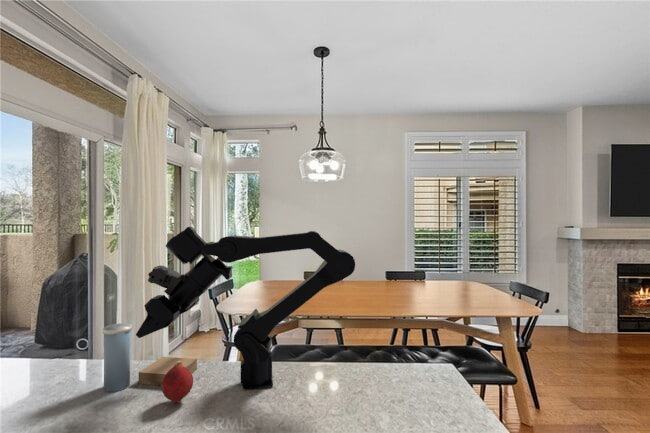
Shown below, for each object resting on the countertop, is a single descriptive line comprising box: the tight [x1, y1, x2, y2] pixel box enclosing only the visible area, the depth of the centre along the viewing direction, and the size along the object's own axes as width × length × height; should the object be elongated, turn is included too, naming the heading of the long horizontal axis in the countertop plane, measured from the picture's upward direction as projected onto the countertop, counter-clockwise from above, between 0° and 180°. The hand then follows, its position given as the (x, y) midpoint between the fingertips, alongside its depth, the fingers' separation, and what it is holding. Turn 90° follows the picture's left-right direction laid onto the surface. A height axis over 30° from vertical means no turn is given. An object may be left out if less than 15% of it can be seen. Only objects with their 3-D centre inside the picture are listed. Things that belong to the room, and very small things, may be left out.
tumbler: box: [102, 322, 133, 393], centre depth 76 cm, size 5×5×13 cm
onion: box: [161, 361, 194, 403], centre depth 70 cm, size 6×6×8 cm
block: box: [138, 356, 198, 386], centre depth 81 cm, size 9×9×2 cm
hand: (147, 329), depth 77 cm, fingers open, 9 cm apart
